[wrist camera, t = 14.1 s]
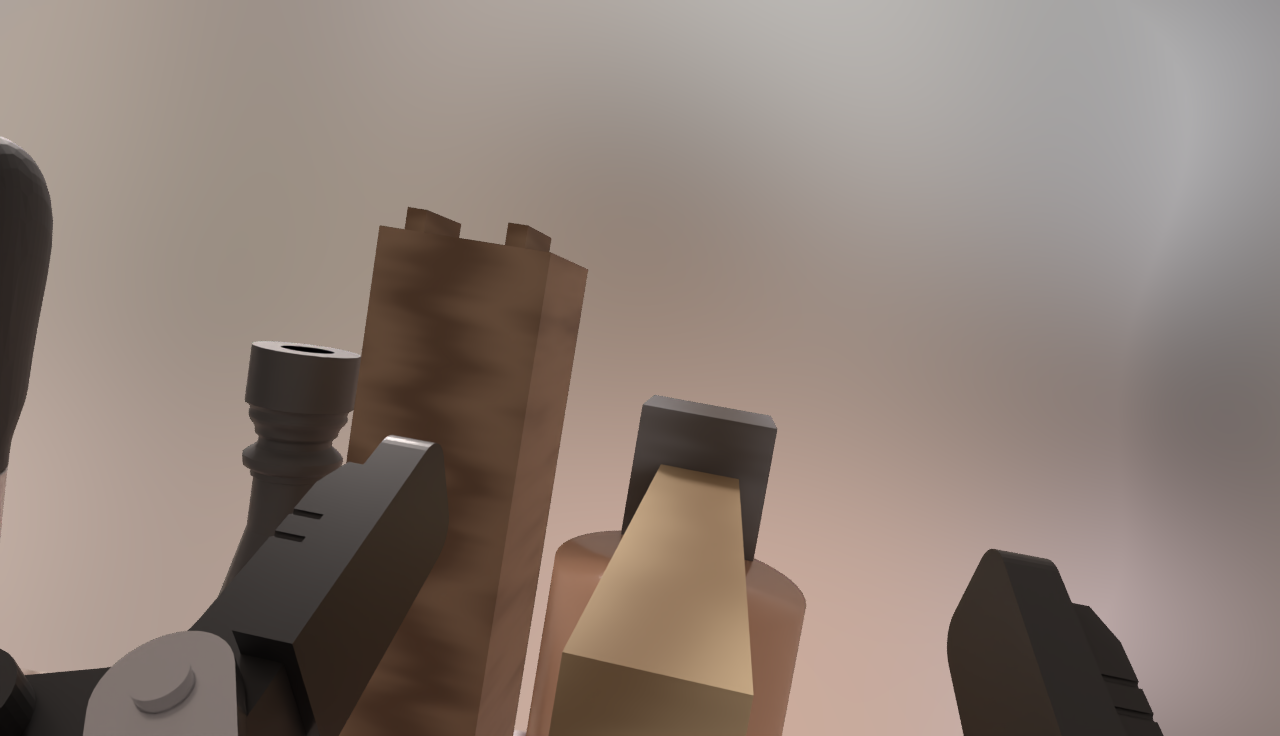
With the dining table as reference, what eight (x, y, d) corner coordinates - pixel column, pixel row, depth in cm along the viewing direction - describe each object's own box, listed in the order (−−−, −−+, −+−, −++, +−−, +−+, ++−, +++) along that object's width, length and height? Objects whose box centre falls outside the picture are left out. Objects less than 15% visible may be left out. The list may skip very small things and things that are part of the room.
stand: (253, 901, 33) (350, 195, 31) (364, 770, 43) (443, 229, 41) (455, 959, 32) (571, 229, 29) (521, 810, 42) (611, 256, 39)
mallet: (468, 815, 11) (517, 505, 10) (635, 507, 29) (654, 394, 29) (788, 898, 10) (851, 574, 10) (749, 530, 29) (770, 415, 29)
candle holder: (271, 813, 38) (333, 361, 37) (163, 790, 39) (220, 341, 37) (328, 745, 44) (384, 356, 43) (235, 726, 45) (286, 339, 43)
